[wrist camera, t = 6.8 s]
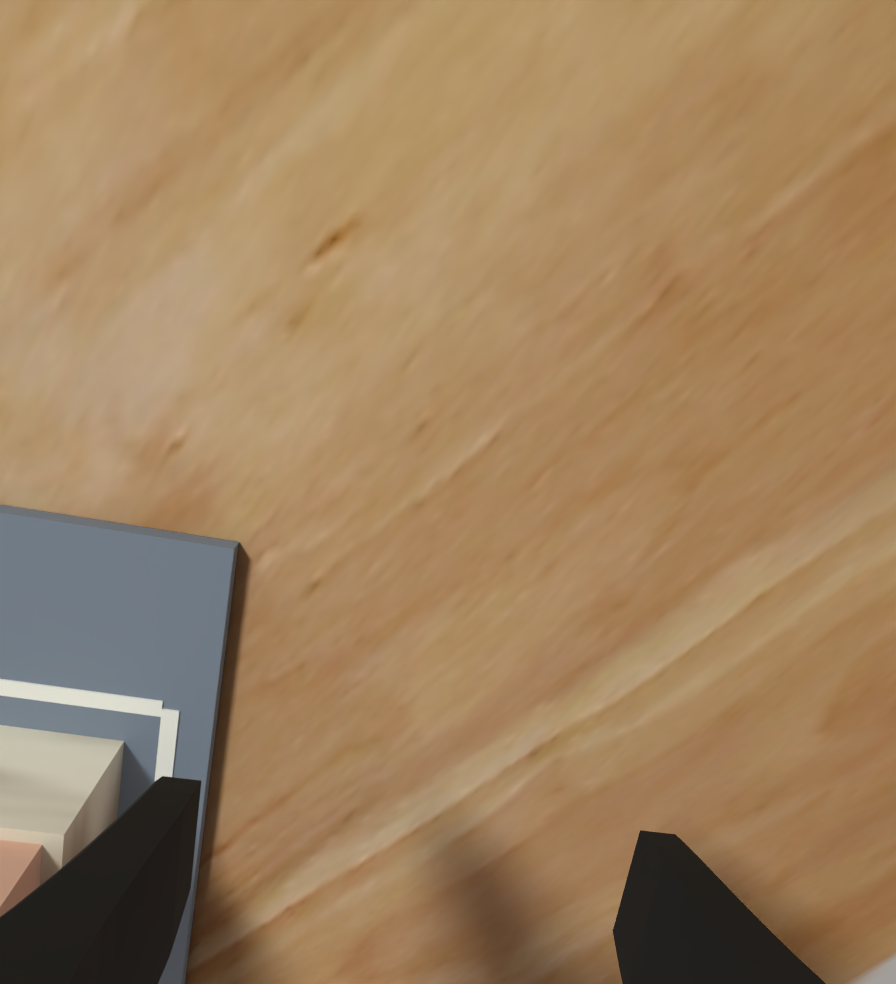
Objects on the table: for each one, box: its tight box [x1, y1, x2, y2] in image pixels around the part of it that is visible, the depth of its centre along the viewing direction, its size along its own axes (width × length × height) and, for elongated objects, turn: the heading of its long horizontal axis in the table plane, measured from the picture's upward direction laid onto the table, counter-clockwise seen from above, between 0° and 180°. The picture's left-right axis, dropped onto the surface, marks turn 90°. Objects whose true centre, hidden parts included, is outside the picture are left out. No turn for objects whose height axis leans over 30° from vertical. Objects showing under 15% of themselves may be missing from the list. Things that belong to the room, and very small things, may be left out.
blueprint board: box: [0, 505, 239, 984], centre depth 23 cm, size 18×10×1 cm, turn 169°
